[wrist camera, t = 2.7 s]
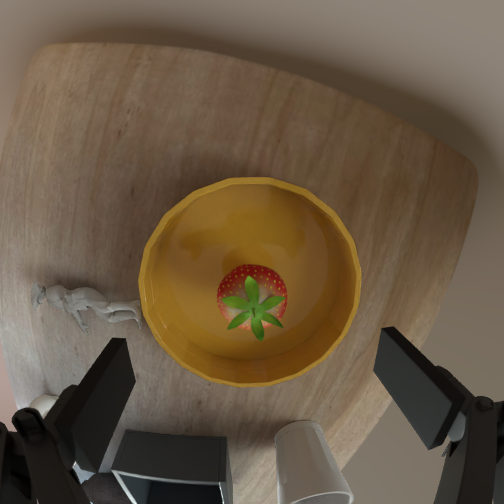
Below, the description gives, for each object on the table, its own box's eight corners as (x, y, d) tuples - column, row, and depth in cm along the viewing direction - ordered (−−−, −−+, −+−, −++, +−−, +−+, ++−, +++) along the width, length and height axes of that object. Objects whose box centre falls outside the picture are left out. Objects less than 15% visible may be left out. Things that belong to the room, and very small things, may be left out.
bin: (226, 436, 31) (226, 481, 24) (232, 486, 34) (233, 523, 27) (125, 429, 31) (110, 469, 24) (149, 480, 34) (141, 515, 26)
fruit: (278, 250, 26) (296, 277, 18) (279, 304, 27) (295, 348, 19) (217, 254, 26) (209, 282, 18) (222, 308, 27) (217, 353, 19)
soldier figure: (144, 338, 29) (43, 340, 25) (141, 296, 31) (44, 299, 27) (140, 314, 23) (15, 316, 18) (137, 263, 25) (20, 267, 21)
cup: (260, 426, 31) (269, 505, 20) (323, 408, 31) (351, 483, 19) (277, 459, 33) (287, 527, 21) (332, 442, 33) (355, 508, 21)
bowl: (346, 180, 26) (366, 180, 21) (334, 354, 29) (347, 378, 25) (147, 183, 25) (130, 183, 20) (165, 360, 29) (156, 385, 24)
